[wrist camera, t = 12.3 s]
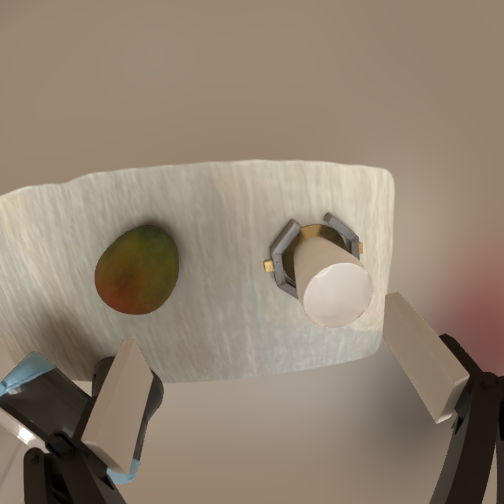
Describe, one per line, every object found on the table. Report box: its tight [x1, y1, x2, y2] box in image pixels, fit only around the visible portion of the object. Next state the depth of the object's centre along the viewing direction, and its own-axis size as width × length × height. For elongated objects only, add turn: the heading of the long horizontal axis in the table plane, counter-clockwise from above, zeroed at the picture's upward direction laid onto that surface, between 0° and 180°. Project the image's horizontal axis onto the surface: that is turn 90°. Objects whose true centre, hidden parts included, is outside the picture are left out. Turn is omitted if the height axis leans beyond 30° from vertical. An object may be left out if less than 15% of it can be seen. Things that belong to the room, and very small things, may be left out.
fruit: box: [95, 225, 179, 315], centre depth 38 cm, size 12×13×10 cm
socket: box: [264, 213, 363, 300], centre depth 43 cm, size 15×13×2 cm
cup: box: [294, 237, 373, 328], centre depth 38 cm, size 9×9×12 cm
